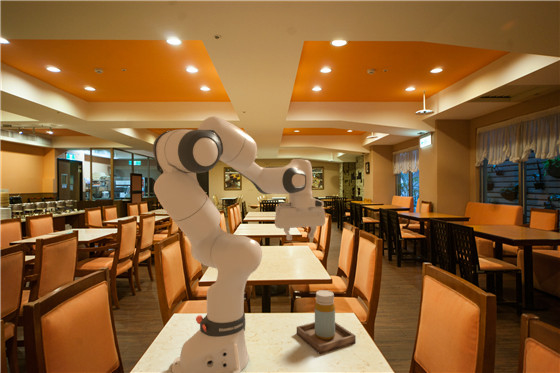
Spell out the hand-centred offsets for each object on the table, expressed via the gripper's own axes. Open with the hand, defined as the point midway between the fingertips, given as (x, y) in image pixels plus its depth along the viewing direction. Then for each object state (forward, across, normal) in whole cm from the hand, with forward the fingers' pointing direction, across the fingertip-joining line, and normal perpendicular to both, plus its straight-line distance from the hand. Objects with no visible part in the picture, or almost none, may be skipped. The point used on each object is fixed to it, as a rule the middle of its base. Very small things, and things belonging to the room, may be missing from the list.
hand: (300, 239), depth 113 cm
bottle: (+33, +4, -11) cm, 35 cm away
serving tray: (+33, +4, -11) cm, 35 cm away
